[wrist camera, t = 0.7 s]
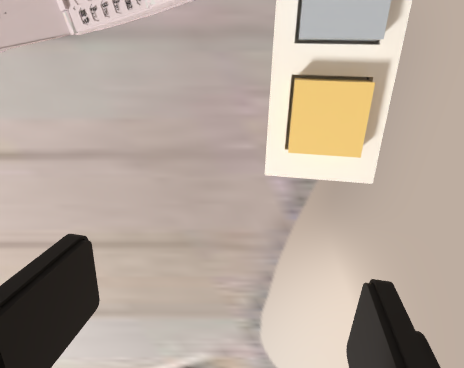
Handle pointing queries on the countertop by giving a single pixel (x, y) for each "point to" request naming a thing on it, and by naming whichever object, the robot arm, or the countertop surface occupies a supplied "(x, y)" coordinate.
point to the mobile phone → (69, 17)
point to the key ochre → (329, 116)
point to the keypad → (330, 67)
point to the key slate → (343, 19)
